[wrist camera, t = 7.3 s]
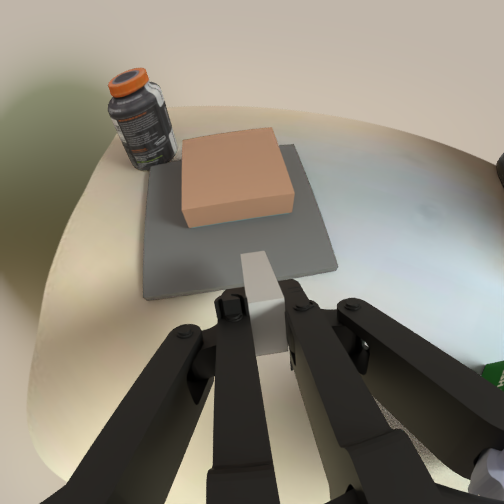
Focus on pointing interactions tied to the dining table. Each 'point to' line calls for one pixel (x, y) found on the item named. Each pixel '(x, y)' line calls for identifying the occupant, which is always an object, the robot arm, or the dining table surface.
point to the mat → (228, 238)
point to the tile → (234, 178)
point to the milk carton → (495, 374)
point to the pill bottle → (141, 119)
